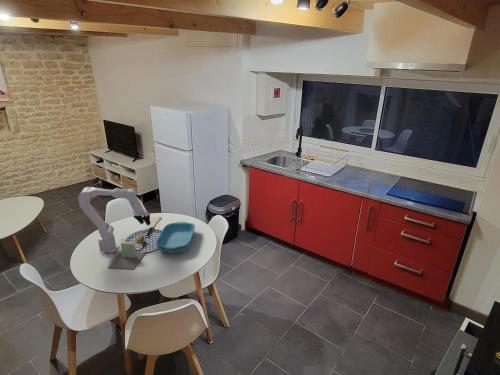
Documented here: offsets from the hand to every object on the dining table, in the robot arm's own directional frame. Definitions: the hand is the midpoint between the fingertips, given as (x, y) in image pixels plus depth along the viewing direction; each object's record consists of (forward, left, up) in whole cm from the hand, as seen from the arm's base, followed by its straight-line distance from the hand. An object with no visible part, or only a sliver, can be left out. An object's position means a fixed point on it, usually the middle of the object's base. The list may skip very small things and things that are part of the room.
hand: (145, 224), depth 206 cm
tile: (-6, -15, -10) cm, 20 cm away
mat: (-6, -18, -16) cm, 25 cm away
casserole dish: (+18, +5, -16) cm, 25 cm away
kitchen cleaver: (-9, +24, -17) cm, 31 cm away
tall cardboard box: (-6, -1, -16) cm, 17 cm away
